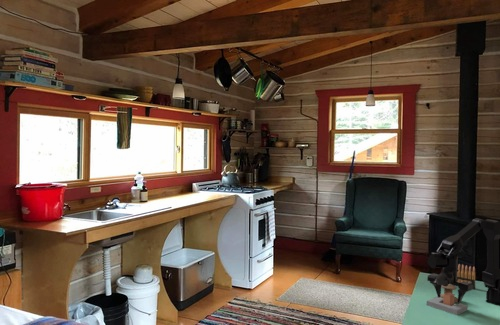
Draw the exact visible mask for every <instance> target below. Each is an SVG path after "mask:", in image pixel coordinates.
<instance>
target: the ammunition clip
mask: <svg viewBox="0 0 500 325" xmlns="http://www.w3.org/2000/svg"><path fill="white" fill-rule="evenodd" d="M457 269H458V272H457V278H458V281H456V282H463V281H465V282H469V283H472V285H473V290H476V268H475V266H473V267H472V266H471V265H469V267H468V265H467V264H466V265H464V264H460V263H459V264H457ZM453 286H455V285H453Z"/></svg>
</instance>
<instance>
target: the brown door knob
mask: <svg viewBox="0 0 500 325" xmlns="http://www.w3.org/2000/svg"><path fill="white" fill-rule="evenodd" d="M457 288H458V286H454V285H451V284H448V286H446V287H445V286H443V285H441V289H443V290H444V291H443V293H441V295H440V297H441V298H443V297H444V294H445V293H452V294H453V292H454V291H456V290H458V289H457ZM454 304H458V296H455V295H454Z"/></svg>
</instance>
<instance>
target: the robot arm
mask: <svg viewBox="0 0 500 325" xmlns="http://www.w3.org/2000/svg"><path fill="white" fill-rule="evenodd" d="M481 230H482V232H483V235H484V236H485V239H486V269H485V270H484V271H482V272H481V275H482V277H481V280H482V282H483V284H484V288H486V289H487V290H486V298H485V299H486V300H485V302H487V303H490V304H492V305H498V306H500V221H498V220H494V219H488V218H487V219H485V220H484V219H481V218H473V219H472V220H471V222H469V223H468V224H467V225H466V226H465V227H463V228H462V229H461V230H460V231H458V232H457V233H455V234H454V235H451V236H448V237H446V238H445V239H443V240H442V242H441V243H440V246H439V247H438V248H437V250H436V252H431V253H430V255H429V256H428V257H427V264H428V266H429V267H430V268H431V269H441V271H440V273H438V274H437V273H435V272H433V273H429V274H428V275H427V277H426V278H427V279H426V281H427V282H429V283H430V284H432V286H433V287H434V289H435V291H436V294H437V297H438V298H440V295H441V294H442V287H441V285H443V286H445V287H446V286H448V284H450V285H453V286H454V285H455V286H456V287H457V288H458V289H457V293H458V294H457V298H458V302H457V304H459V303H460V304H461V302H462V300H463V298H464V296H465V295H466V293H467V292H470V291H473V290H474V289H473V285H472V282H471V283H469V282H465V281H463V282H456V281H458V278H457V272H458V258H460V259H461V258H462V255H461V254H460V251H461V250H462V249H463V248H464V245H465V243H466V242H467V241H468V240H470V238H472V237H473V236H475V235H476V234H477V233H478V232H479V231H481Z"/></svg>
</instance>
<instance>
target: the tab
mask: <svg viewBox="0 0 500 325" xmlns="http://www.w3.org/2000/svg"><path fill="white" fill-rule="evenodd" d="M443 294H444V293H443ZM454 296H455V294H454V293H453V292H452V293H445V294H444V297H443V304H446V305H449V306H453V305H455V303H454Z"/></svg>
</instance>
